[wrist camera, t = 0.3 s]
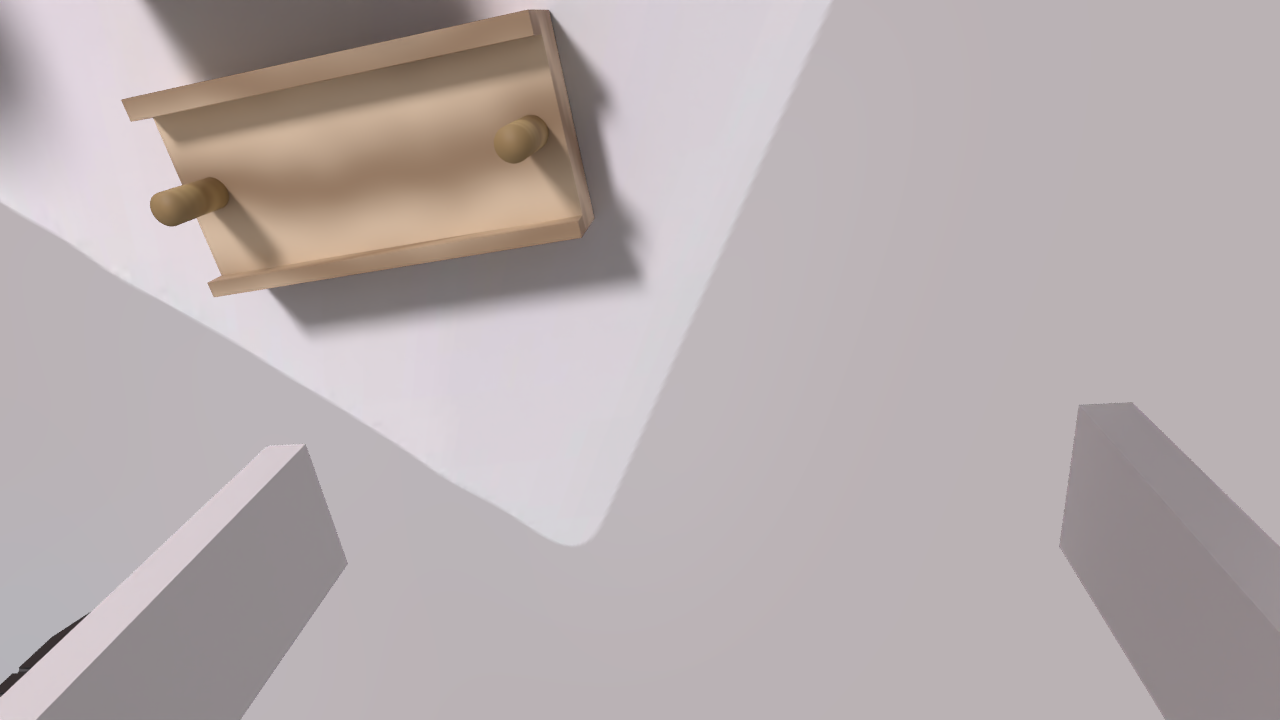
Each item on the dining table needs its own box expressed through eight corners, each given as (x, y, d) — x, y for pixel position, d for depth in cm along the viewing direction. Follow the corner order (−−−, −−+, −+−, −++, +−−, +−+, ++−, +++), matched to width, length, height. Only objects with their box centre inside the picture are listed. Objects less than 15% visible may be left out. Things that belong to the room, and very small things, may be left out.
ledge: (178, 91, 38) (87, 104, 33) (548, 9, 35) (515, 9, 29) (254, 274, 42) (185, 313, 37) (594, 218, 39) (572, 251, 33)
